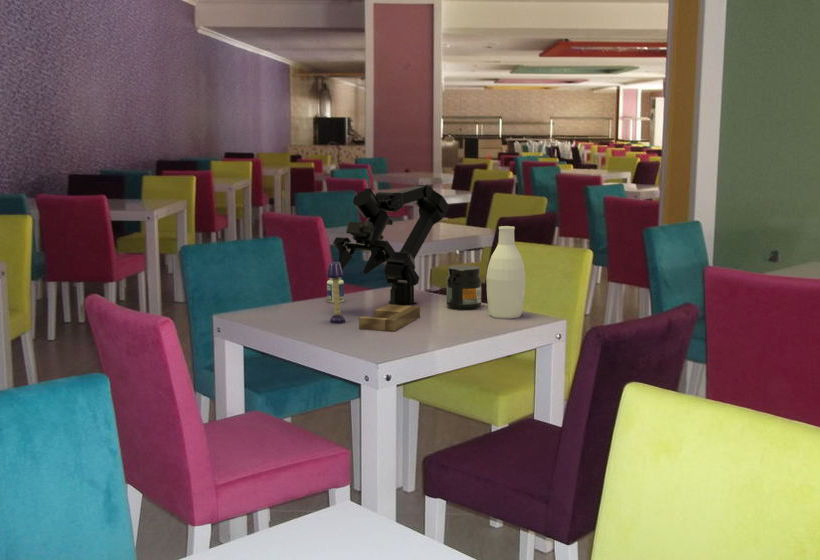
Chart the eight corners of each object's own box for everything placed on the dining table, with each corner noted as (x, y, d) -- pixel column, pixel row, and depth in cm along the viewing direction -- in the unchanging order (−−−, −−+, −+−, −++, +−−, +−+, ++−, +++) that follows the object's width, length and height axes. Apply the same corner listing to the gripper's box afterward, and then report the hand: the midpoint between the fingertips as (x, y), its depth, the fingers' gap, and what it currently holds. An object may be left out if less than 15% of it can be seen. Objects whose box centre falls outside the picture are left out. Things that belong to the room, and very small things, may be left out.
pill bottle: (345, 300, 289) (345, 272, 288) (342, 303, 284) (342, 274, 283) (328, 299, 290) (328, 271, 288) (325, 302, 285) (325, 274, 283)
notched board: (359, 328, 247) (358, 317, 247) (387, 314, 266) (387, 304, 266) (393, 331, 244) (393, 320, 243) (419, 316, 263) (419, 306, 262)
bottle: (531, 318, 261) (533, 228, 257) (494, 320, 258) (495, 229, 254) (515, 310, 271) (517, 224, 267) (480, 313, 268) (481, 225, 264)
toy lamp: (331, 324, 254) (330, 263, 251) (325, 321, 258) (324, 261, 255) (347, 322, 256) (346, 262, 253) (341, 319, 260) (340, 260, 257)
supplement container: (487, 309, 274) (487, 269, 272) (454, 311, 271) (454, 271, 269) (472, 303, 284) (473, 264, 282) (440, 305, 280) (441, 266, 278)
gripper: (335, 209, 267) (312, 252, 261) (387, 212, 257) (364, 257, 250) (353, 232, 275) (331, 275, 268) (404, 236, 264) (383, 281, 258)
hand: (351, 271), depth 261 cm, fingers open, 9 cm apart
